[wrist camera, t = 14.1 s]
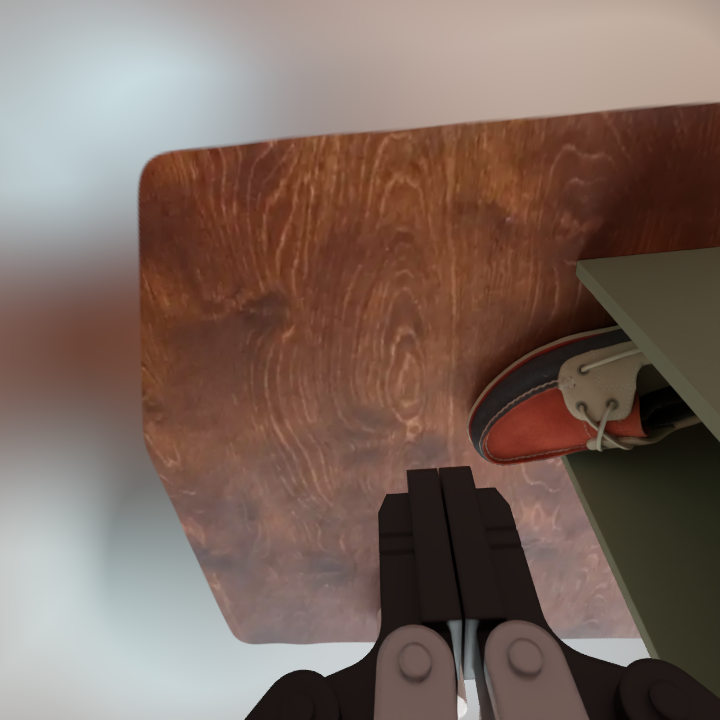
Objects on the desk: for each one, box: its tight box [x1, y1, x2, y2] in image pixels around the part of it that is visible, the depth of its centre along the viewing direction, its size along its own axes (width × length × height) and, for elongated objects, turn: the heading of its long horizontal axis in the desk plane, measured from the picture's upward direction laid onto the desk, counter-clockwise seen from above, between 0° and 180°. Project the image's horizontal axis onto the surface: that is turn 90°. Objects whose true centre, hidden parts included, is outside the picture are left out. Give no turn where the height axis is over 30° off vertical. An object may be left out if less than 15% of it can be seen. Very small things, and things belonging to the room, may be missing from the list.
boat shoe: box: [467, 325, 702, 466], centre depth 38 cm, size 10×27×8 cm, turn 121°
